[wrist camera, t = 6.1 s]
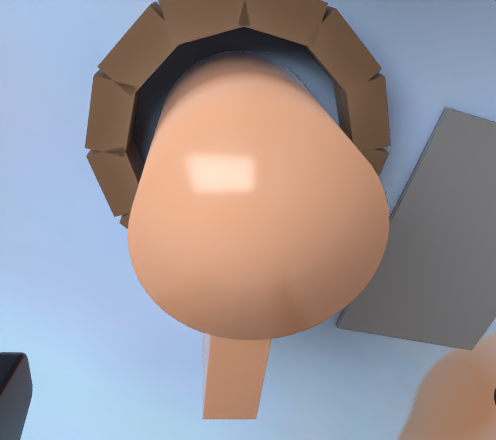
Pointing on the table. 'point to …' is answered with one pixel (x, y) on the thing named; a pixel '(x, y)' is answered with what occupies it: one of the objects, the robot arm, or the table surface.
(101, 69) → the collar
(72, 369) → the table surface
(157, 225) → the peach rounded piece
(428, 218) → the mat
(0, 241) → the table surface
